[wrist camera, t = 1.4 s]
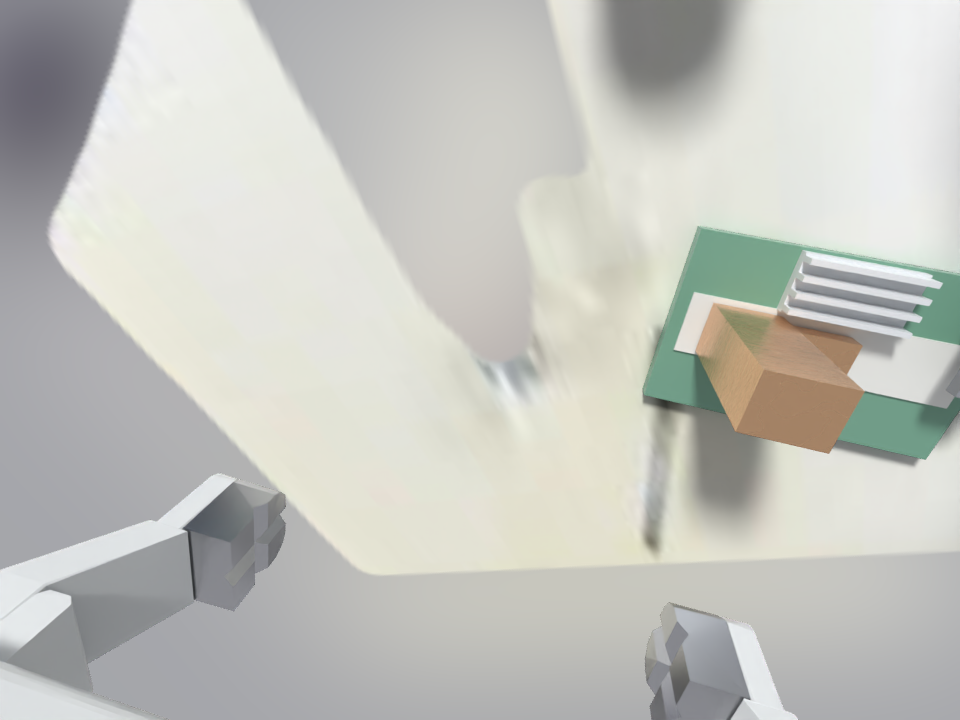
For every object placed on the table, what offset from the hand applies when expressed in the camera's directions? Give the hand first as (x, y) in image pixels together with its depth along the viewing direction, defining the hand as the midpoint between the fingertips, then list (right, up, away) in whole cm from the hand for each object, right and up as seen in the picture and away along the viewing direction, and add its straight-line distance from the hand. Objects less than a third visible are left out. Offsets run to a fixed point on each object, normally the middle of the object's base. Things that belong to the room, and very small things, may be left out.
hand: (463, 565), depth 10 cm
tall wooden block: (+22, +6, +26) cm, 35 cm away
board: (+26, +6, +27) cm, 38 cm away
